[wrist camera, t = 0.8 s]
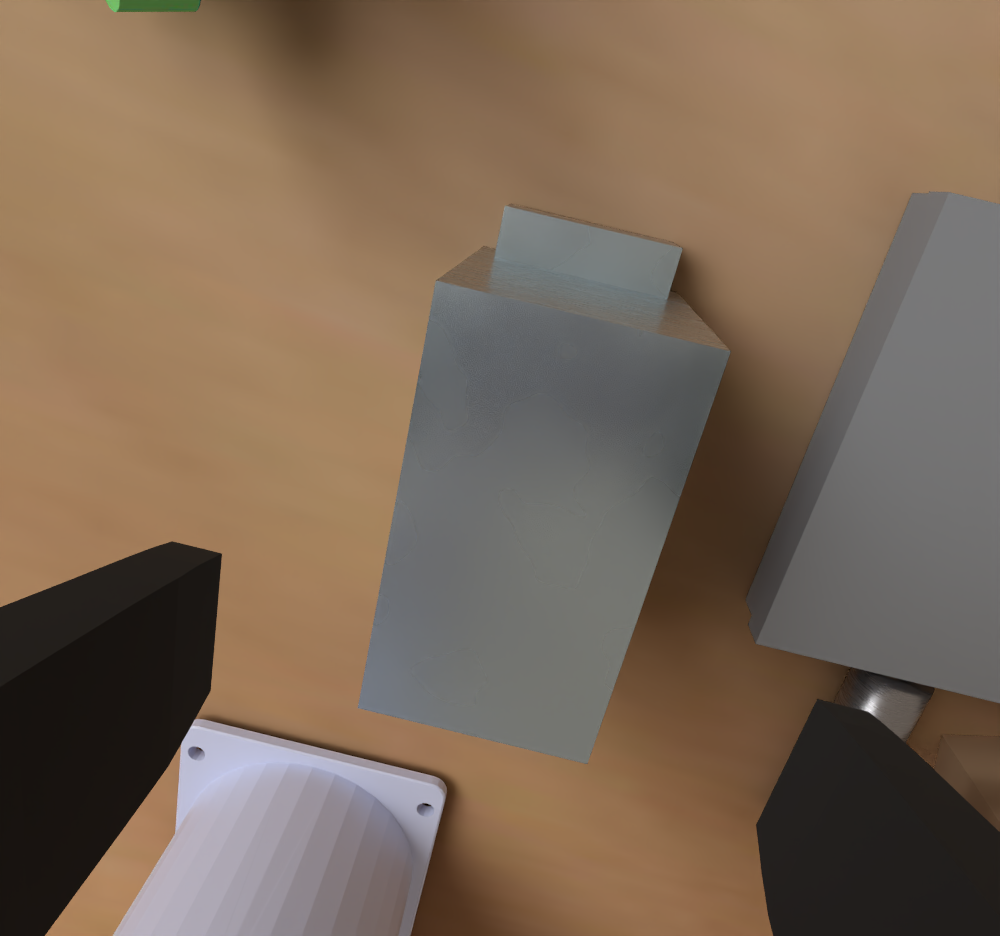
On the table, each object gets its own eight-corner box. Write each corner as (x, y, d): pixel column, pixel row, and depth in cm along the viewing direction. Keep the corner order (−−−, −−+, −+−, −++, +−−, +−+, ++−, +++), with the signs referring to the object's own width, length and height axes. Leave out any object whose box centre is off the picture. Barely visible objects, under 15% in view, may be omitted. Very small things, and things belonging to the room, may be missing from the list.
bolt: (844, 830, 21) (879, 920, 18) (748, 805, 21) (770, 891, 19) (935, 664, 19) (989, 740, 16) (828, 636, 19) (865, 708, 16)
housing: (573, 625, 20) (573, 803, 14) (414, 586, 20) (350, 748, 14) (691, 246, 16) (754, 282, 10) (493, 199, 16) (449, 209, 10)
